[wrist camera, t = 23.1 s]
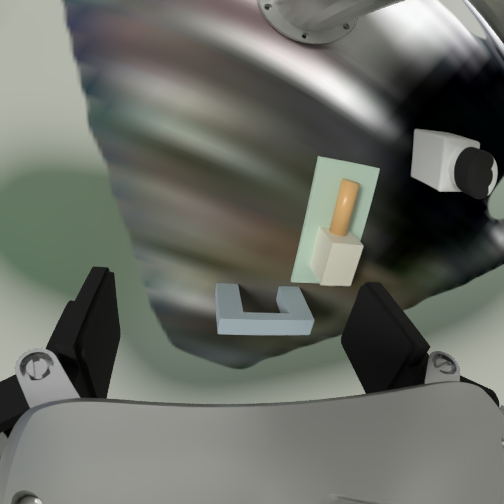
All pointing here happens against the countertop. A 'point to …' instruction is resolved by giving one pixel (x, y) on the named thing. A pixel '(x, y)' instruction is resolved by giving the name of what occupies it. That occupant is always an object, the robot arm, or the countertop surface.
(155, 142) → the countertop surface
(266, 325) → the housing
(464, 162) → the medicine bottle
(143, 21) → the countertop surface
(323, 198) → the mat
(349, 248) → the plug
